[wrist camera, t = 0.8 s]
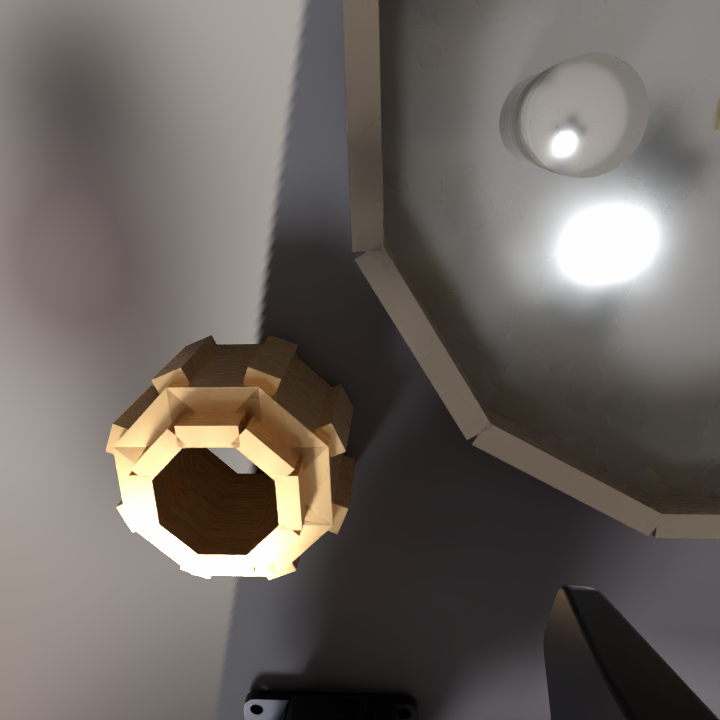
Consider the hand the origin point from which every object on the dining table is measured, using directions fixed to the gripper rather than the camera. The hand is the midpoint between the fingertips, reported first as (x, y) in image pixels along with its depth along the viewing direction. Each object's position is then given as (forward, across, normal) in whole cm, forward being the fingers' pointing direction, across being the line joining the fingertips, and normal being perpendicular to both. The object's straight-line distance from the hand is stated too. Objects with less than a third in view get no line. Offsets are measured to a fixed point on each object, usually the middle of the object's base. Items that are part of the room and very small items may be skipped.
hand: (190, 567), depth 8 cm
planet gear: (+11, +2, +6) cm, 13 cm away
